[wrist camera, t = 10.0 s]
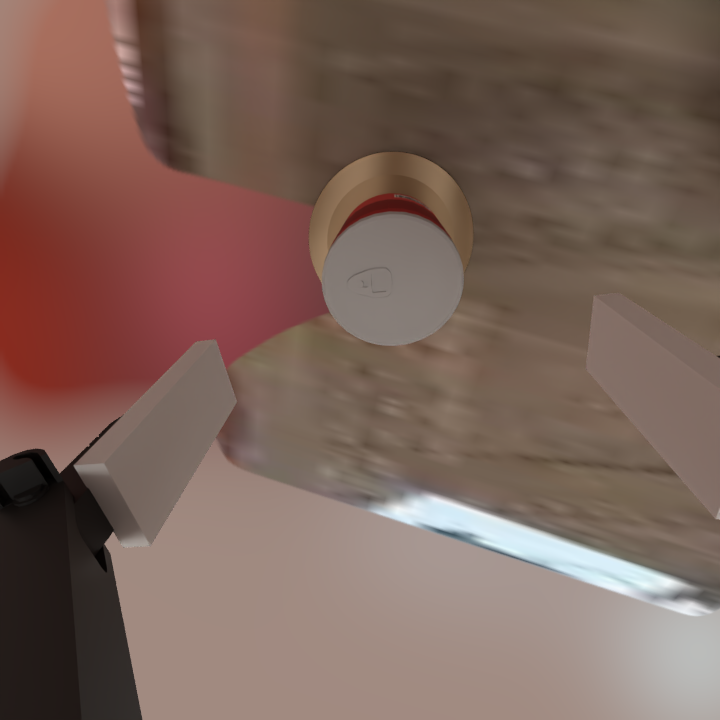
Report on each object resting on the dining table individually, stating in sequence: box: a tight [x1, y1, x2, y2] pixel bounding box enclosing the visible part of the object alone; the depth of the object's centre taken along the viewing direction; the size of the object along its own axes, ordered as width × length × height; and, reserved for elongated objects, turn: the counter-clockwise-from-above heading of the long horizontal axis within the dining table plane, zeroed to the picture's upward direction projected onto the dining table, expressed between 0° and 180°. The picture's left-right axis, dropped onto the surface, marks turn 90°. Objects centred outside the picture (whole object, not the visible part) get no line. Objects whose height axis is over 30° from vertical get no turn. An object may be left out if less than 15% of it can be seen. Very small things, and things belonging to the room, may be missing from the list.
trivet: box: [309, 152, 474, 282], centre depth 33 cm, size 13×13×1 cm
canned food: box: [322, 193, 464, 346], centre depth 28 cm, size 8×8×11 cm
